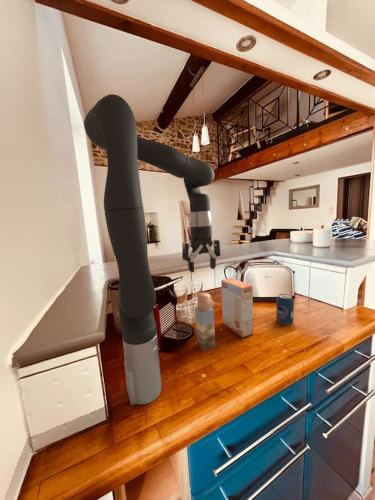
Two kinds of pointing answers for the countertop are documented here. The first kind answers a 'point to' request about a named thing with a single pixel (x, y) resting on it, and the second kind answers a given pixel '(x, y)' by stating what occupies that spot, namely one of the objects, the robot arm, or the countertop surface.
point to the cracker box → (237, 306)
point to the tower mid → (205, 330)
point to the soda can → (285, 308)
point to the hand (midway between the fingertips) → (202, 270)
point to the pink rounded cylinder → (203, 301)
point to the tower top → (204, 316)
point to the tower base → (206, 342)
